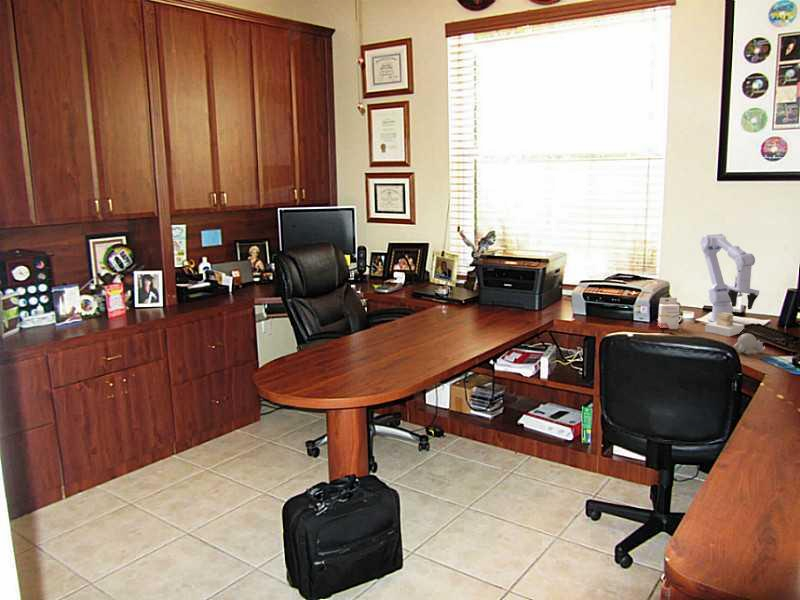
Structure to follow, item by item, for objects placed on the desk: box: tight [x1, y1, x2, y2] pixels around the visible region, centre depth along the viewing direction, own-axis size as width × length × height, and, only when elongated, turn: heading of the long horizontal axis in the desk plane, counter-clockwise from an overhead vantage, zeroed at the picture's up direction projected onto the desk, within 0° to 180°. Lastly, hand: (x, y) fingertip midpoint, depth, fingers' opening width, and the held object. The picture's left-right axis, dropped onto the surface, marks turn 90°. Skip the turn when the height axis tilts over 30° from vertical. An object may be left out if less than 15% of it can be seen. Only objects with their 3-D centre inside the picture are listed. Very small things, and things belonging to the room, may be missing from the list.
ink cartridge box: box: [657, 297, 680, 330], centre depth 324 cm, size 9×5×15 cm, turn 84°
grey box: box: [704, 321, 745, 337], centre depth 315 cm, size 12×12×4 cm
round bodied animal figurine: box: [732, 332, 766, 356], centre depth 281 cm, size 7×12×8 cm, turn 90°
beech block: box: [717, 312, 734, 326], centre depth 314 cm, size 5×5×5 cm
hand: (741, 307), depth 317 cm, fingers open, 7 cm apart
